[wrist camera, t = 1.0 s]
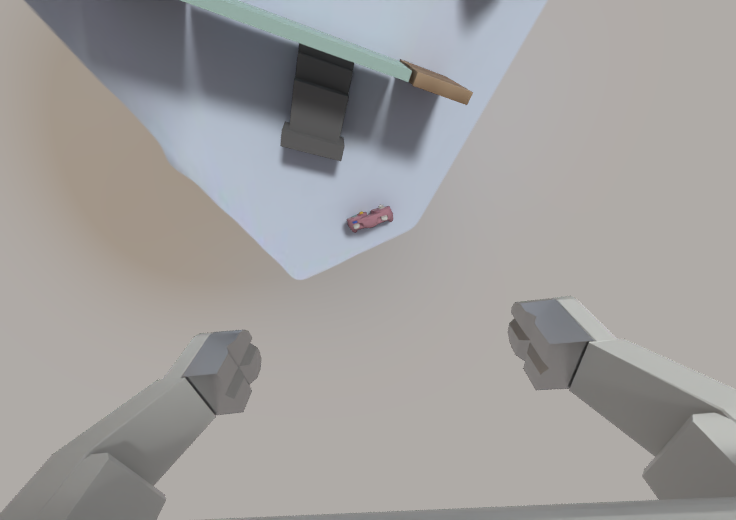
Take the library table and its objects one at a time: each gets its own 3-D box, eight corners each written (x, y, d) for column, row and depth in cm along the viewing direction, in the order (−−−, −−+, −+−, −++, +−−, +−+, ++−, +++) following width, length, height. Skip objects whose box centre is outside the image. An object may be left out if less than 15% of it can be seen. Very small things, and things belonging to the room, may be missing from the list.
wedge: (293, 35, 38) (289, 38, 34) (361, 60, 40) (363, 65, 37) (283, 136, 47) (280, 146, 43) (340, 150, 49) (340, 161, 46)
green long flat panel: (183, -8, 32) (150, -11, 26) (182, -21, 31) (147, -28, 25) (396, 70, 40) (408, 82, 34) (399, 61, 39) (412, 71, 33)
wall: (70, -67, 30) (-24, -94, 22) (446, 76, 43) (472, 92, 35) (75, -47, 31) (-13, -66, 23) (441, 87, 44) (466, 105, 36)
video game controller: (388, 200, 59) (390, 203, 53) (394, 219, 60) (396, 225, 54) (346, 213, 60) (342, 218, 54) (352, 232, 62) (350, 239, 55)
